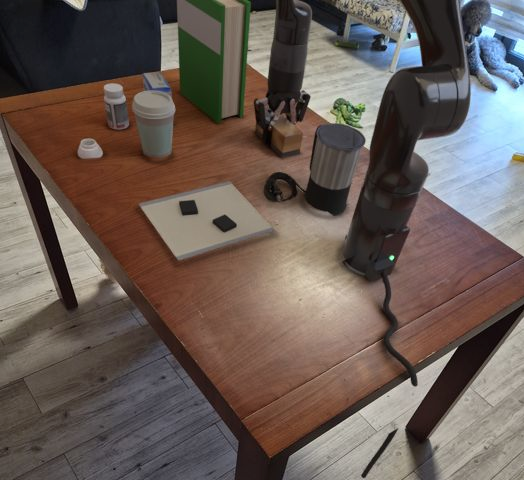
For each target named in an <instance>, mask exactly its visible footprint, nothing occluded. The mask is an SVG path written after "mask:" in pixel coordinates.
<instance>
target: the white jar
mask: <svg viewBox="0 0 524 480" xmlns="http://www.w3.org/2000/svg"><path fill="white" fill-rule="evenodd" d="M103 155H104V151H103V149H102V148H101V146H100V144H98V143H97V141H96V140H95V139H94V138H84V139H81V141H80V143H79V146H78V149H77V156H78V157H79V158H80V159H82V160H83V159H85V160H86V159H99V158H102V157H103Z"/></svg>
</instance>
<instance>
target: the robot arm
mask: <svg viewBox="0 0 524 480" xmlns="http://www.w3.org/2000/svg"><path fill="white" fill-rule="evenodd" d="M274 1H275V19H274V28H273V38H272V42H271V47H270V52H269V53H270V55H269V63H268V72H267V82H266V83H267V92H266V93H265V97H262V98H260V99H259V98H258V97H256V98H254V100H253V109H254V116H255V125H256V124H257V125H258V126H260V127H261V128H262V129H263V135H262V139H261V140H262V142H263V144H265V145H266V146H268V147H269V145H271V139H272V128H273V126H274V123H275V121H277V120H278V118H279V115H281V114H282V115H283V114H285V118H286V119H288V120H289V121H290V122H291V123H292V124H293V125H295V126H296V125H297V123H299V122H300V123H302V122H303V120H304V117H305V115H306V112H307V109H308V106H309V103H310V100H311V98H312V96H311V95H310V94H309V92H307V91H305V90H304V89H303V84H304V77H305V72H306V64H307V58H308V48H309V47H308V46H309V37H310V33H311V32H310V31H311V25H312V18H313V11H312V6H310V5H309V4H308V3H306V2H305V1H302V0H274ZM398 1H399V3H400V5H401V6H402V8H403V10H404V11H405V14H406V15H407V17H408V18H409V20H410V22H411V24H412V26H413V29H414V32H415V34H416V37H417V40H418V42H417V43H418V47H419V53H420V60H421V65H419V66H407V67H403V68H400V69H398V70H397V71H395V72H394V73H393V74H392V75H391V77H390V78H389V80H388V82H387V84H386V85H385V87H384V90H383V92H382V96H381V99H380V103H379V107H378V111H377V115H376V119H375V124H374V129H373V132H372V136H371V139H370V144H369V153H368V157H369V159H368V166H367V169H366V173H365V176H364V179H363V182H362V186H361V188H360V190H359V191H360V192H359V194H358V198H357V201H356V204H355V208H354V211H353V213H352V217H351V221H350V225H349V227H348V231H347V234H346V235H345V237H344V244H343V247H342V257H343V260H342V263H343V265H344V266H345V267H346V268H347V269H348V270H350V271H351V272H352V273H354V274H357V275H359V276H363V277H365V278H366V279H367V280H369V282H371V283H373V282H375V281H379V280H381V279H382V283H383V284H384V292H385V295H384V299H383V303H382V309H383V313H384V314H385V316H386V317H387V318H388V319H389V320H390V322H391V327H389V328H388V329H387V331H386V332H385V333H384V334H383V338H382V341H383V345H384V347H385V349H386V351H387V352H388V353H389V354H390V355H391V356H392V357H393V358H394V359H395V360H397V361H398V362H399V363H400V364H401V365H402V366H403V367H404V368H405V370H406V371H407V372H408V375H409V378H410V383H411V385H412V386H413V387H418V383H419V382H418V375H417V372H416V370H415V368H414V366H413V365H412V364H411V362H409V360H408V359H407V358H406V357H405V356H403V355H402V354H401V353H400V352H398V351H397V350H396V349H395V348H394V347H393V346H392V344H391V341H390V339H391V337H392V335H393V334H394V333H395V332H396V331H397V329H398V327H399V321H398V319H397V317H396V316H395V315H394V313H393V312H392V311H391V309H390V302H391V299H392V287H391V283H390V280H389V276H391V274H392V271H394V270H395V267H396V264H397V262H398V260H399V258H400V256H401V253H402V250H403V248H404V246H405V243H406V241H407V239H408V237H409V234H410V233H411V228H410V227H409V226H408V225H409V221H410V219H411V217H412V214H413V212H414V210H415V207H416V205H417V202H418V200H419V198H420V195H421V193H422V191H423V188H424V186H425V184H426V181H427V180H428V176H429V173H430V171H429V170H430V169H429V164H428V162H427V161H426V159H424V158H423V157H422V156H421V155H419V154H418V153H417V152H415V148H416V145H417V142H418V141H423V140H424V141H425V140H432V139H438V138H445V137H449V136H452V135H454V134H456V133H457V132H458V131H459V130H460V129H461V128H462V127H463V125H464V123H466V119H467V118H468V115H469V111H470V108H471V107H470V106H471V97H472V96H471V95H472V85H471V84H472V83H471V74H470V67H469V60H468V59H469V58H468V54H467V53H468V52H467V46H466V40H465V34H464V33H465V31H464V27H463V26H464V25H463V17H462V9H461V0H398ZM265 110H266V112H265ZM272 112H273V113H274V115H273V114H272ZM269 120H270V121H269ZM398 430H399V427H397V428H395V429H394V430H393V431H391V432H389V433H388V435H387V436H386V438H385V439H384V441H383V442H382V444H381V445H380V447H379V448H378V450H377V451H376V452H375V454H374V455H373V457H372V458H371V460H370V461H369V462H368V464H367V465H366V466H365V468H364V470H363V471H362V473H361V478H362V479H366V477H367V476H368V474H369V473H370V472H371V470H372V468H373V467H374V466H375V465H376V463H377V461H378V460H379V459H380V457H381V456H382V455H383V454H384V452H385V451H386V449H387V448H388V446H390V444H391V442H392V440H393V439H394V438H395V436H396V434H397V432H398Z"/></svg>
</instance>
